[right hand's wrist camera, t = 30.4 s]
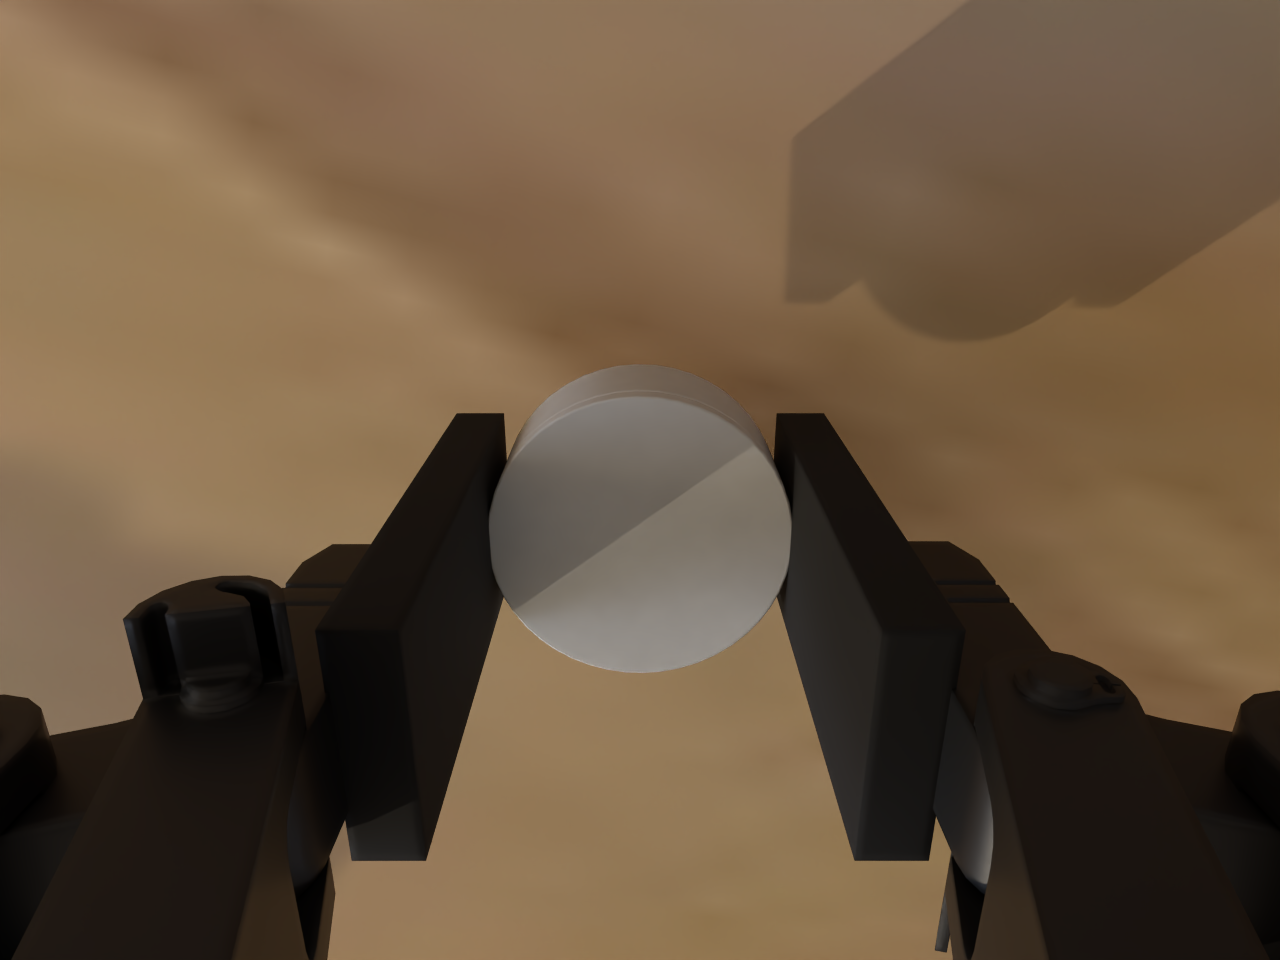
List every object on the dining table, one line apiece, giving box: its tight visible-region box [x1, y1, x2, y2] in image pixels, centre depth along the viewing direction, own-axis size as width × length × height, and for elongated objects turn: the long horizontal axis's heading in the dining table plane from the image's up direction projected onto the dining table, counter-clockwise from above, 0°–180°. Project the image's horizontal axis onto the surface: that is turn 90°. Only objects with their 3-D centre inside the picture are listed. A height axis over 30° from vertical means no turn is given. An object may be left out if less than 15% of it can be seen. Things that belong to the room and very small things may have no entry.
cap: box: [489, 364, 792, 673], centre depth 13 cm, size 4×4×2 cm
